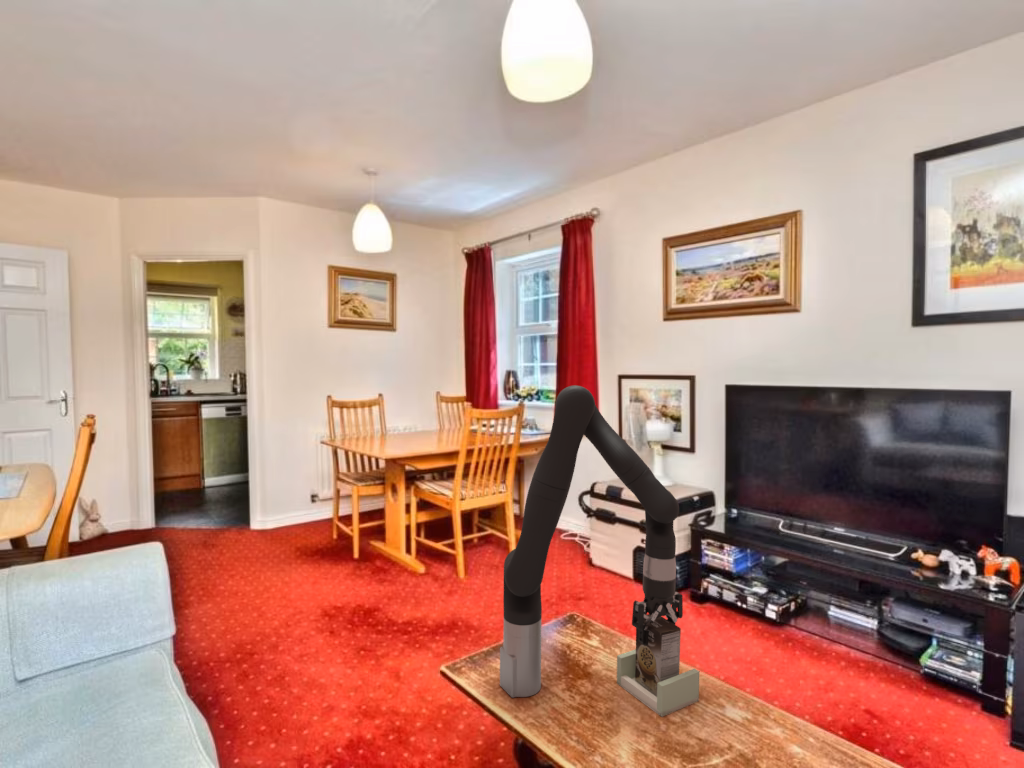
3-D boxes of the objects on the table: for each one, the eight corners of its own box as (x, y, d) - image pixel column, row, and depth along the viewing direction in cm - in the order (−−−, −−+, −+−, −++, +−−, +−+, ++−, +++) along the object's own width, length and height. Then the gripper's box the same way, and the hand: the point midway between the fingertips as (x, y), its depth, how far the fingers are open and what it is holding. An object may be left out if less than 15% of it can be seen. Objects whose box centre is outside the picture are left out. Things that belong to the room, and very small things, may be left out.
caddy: (661, 717, 124) (662, 686, 123) (616, 683, 136) (617, 655, 136) (698, 700, 130) (699, 671, 129) (652, 670, 143) (652, 643, 142)
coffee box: (633, 681, 136) (634, 616, 135) (654, 674, 139) (655, 611, 138) (658, 701, 128) (660, 632, 127) (680, 694, 130) (681, 627, 130)
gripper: (648, 584, 125) (646, 654, 126) (692, 573, 132) (690, 640, 133) (625, 573, 132) (623, 640, 132) (669, 563, 139) (666, 627, 139)
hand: (656, 640), depth 133 cm, fingers open, 8 cm apart
